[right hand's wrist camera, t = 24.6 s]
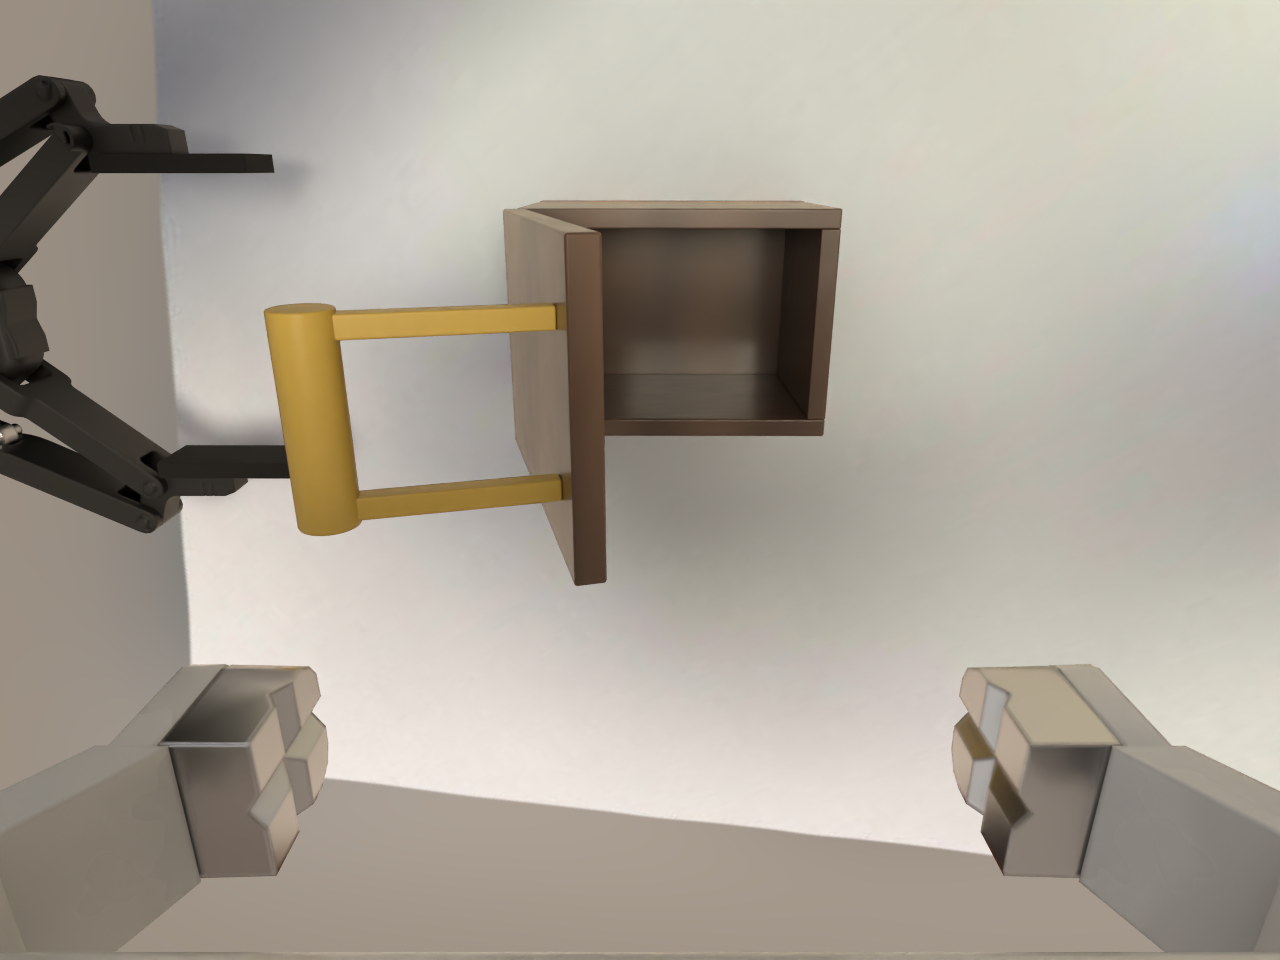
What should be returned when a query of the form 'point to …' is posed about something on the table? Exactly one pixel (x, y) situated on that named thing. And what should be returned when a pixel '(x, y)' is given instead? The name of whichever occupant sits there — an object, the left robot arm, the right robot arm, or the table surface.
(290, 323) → the door
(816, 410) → the brown wooden box
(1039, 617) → the table surface
